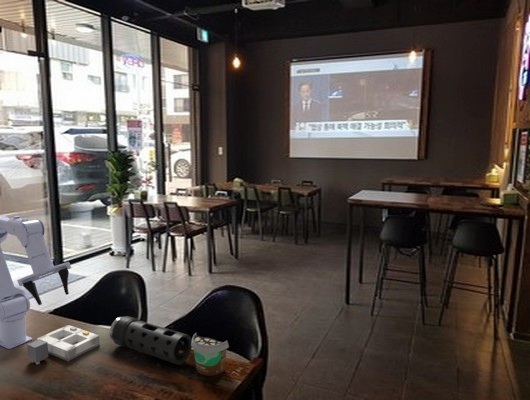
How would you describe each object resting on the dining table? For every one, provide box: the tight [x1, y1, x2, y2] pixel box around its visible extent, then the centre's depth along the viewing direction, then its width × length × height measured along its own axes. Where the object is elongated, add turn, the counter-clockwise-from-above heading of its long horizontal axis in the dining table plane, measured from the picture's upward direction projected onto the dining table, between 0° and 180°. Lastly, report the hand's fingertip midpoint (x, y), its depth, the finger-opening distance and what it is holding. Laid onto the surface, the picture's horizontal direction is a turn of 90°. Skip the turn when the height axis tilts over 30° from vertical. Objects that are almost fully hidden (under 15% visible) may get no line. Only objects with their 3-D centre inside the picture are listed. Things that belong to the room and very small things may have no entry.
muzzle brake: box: [109, 315, 193, 367], centre depth 134 cm, size 10×28×10 cm, turn 61°
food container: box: [191, 332, 230, 377], centre depth 124 cm, size 12×6×10 cm, turn 65°
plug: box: [26, 339, 49, 365], centre depth 129 cm, size 4×4×6 cm
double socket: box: [35, 324, 101, 362], centre depth 138 cm, size 16×12×4 cm
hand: (53, 299), depth 124 cm, fingers open, 7 cm apart
